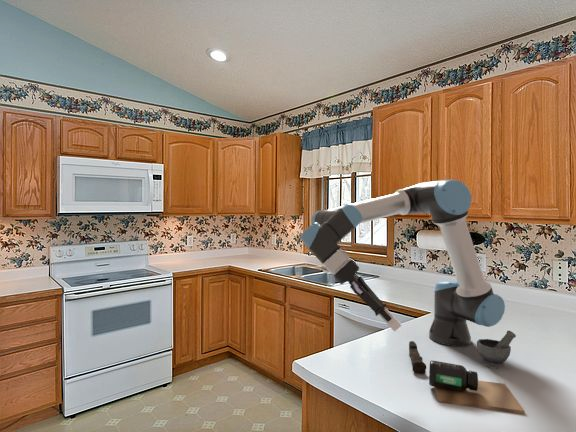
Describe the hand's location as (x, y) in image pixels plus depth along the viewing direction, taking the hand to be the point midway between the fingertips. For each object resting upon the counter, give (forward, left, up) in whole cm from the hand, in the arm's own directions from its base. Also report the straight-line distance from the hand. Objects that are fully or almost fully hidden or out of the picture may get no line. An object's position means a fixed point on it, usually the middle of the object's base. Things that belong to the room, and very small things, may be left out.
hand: (397, 327), depth 105 cm
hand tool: (-7, +18, -17) cm, 25 cm away
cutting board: (+16, +13, -16) cm, 26 cm away
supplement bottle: (+7, +6, -12) cm, 15 cm away
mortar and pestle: (+9, +39, -16) cm, 43 cm away
